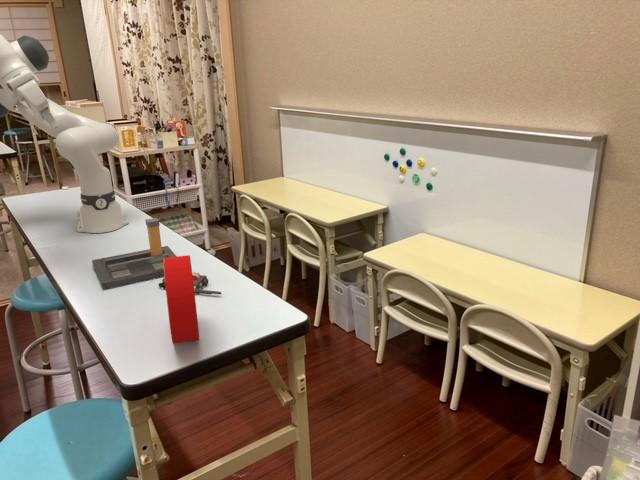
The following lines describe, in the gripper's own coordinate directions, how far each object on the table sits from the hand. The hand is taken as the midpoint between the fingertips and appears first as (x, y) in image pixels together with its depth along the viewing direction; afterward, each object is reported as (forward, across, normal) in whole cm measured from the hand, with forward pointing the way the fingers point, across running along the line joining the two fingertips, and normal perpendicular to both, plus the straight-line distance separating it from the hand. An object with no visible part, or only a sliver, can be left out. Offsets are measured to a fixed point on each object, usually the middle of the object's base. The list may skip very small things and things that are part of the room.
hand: (56, 127), depth 144 cm
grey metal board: (+47, -4, -7) cm, 47 cm away
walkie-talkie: (+58, +17, 0) cm, 61 cm away
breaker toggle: (+47, -3, -1) cm, 48 cm away
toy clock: (+60, +41, -11) cm, 74 cm away
